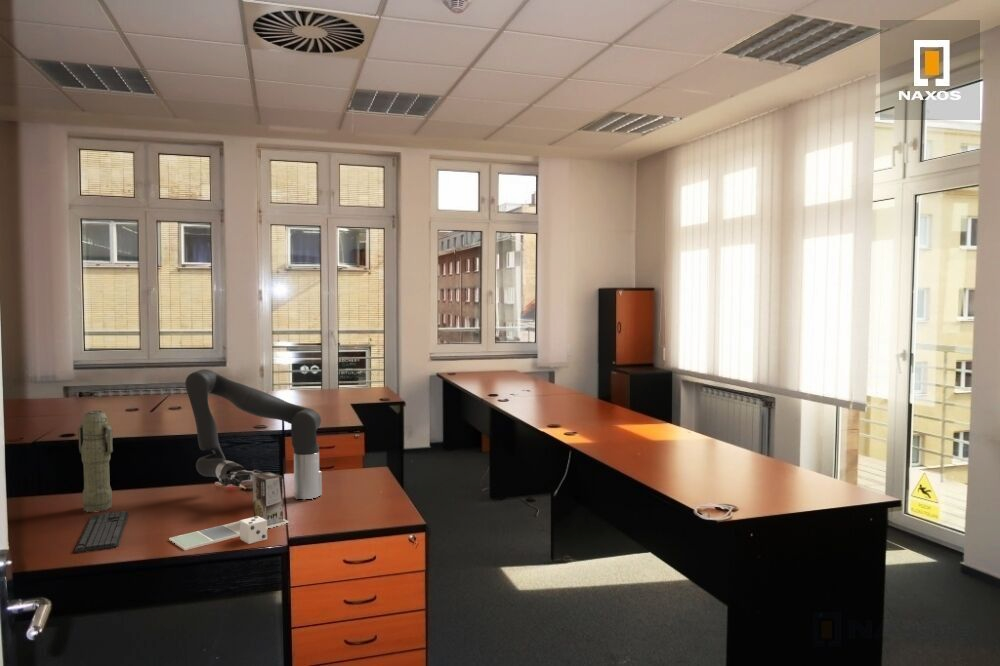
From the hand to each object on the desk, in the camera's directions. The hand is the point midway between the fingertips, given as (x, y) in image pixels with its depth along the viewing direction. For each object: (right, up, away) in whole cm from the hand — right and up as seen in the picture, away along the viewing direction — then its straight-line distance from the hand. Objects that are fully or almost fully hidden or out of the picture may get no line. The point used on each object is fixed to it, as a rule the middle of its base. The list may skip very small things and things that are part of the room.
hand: (250, 481), depth 239 cm
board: (0, -13, -17) cm, 21 cm away
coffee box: (+9, -12, -7) cm, 17 cm away
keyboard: (-41, -13, -17) cm, 47 cm away
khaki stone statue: (-57, -11, +7) cm, 59 cm away
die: (+9, -13, -23) cm, 28 cm away
